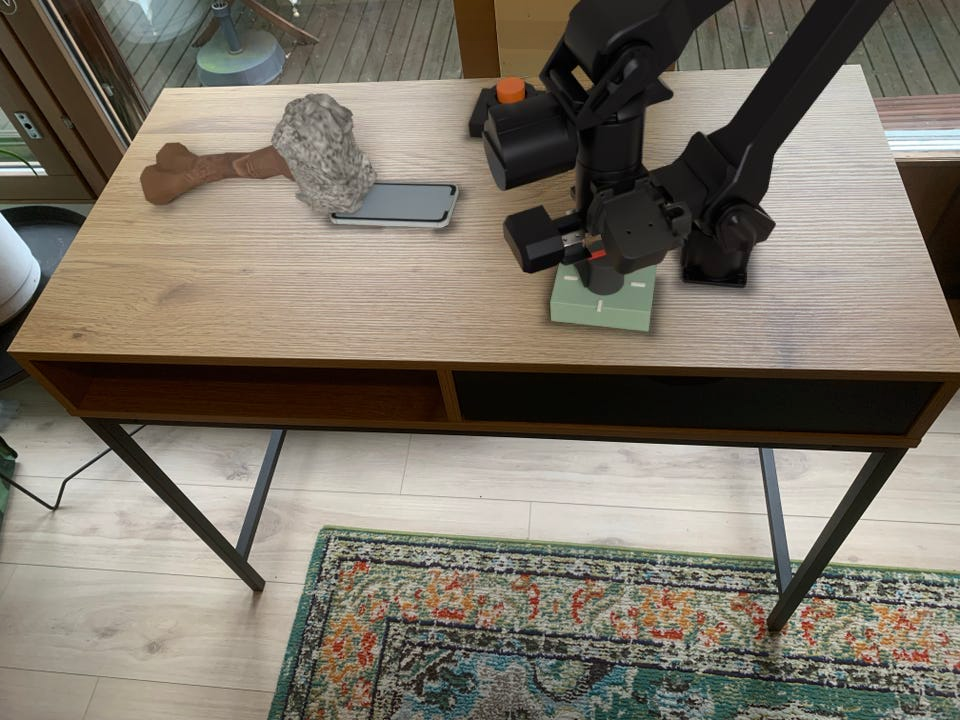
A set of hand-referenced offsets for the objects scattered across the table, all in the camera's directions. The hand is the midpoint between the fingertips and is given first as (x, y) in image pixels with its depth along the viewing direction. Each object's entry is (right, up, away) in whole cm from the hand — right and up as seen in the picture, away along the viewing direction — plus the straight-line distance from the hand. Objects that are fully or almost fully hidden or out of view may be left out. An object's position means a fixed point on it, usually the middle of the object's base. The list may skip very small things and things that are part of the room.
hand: (604, 278), depth 75 cm
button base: (-8, +24, +24) cm, 34 cm away
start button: (-9, +26, +21) cm, 34 cm away
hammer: (-39, +12, +19) cm, 46 cm away
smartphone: (-23, +10, +16) cm, 30 cm away
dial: (0, 0, 0) cm, 0 cm away
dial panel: (0, -2, +3) cm, 4 cm away
